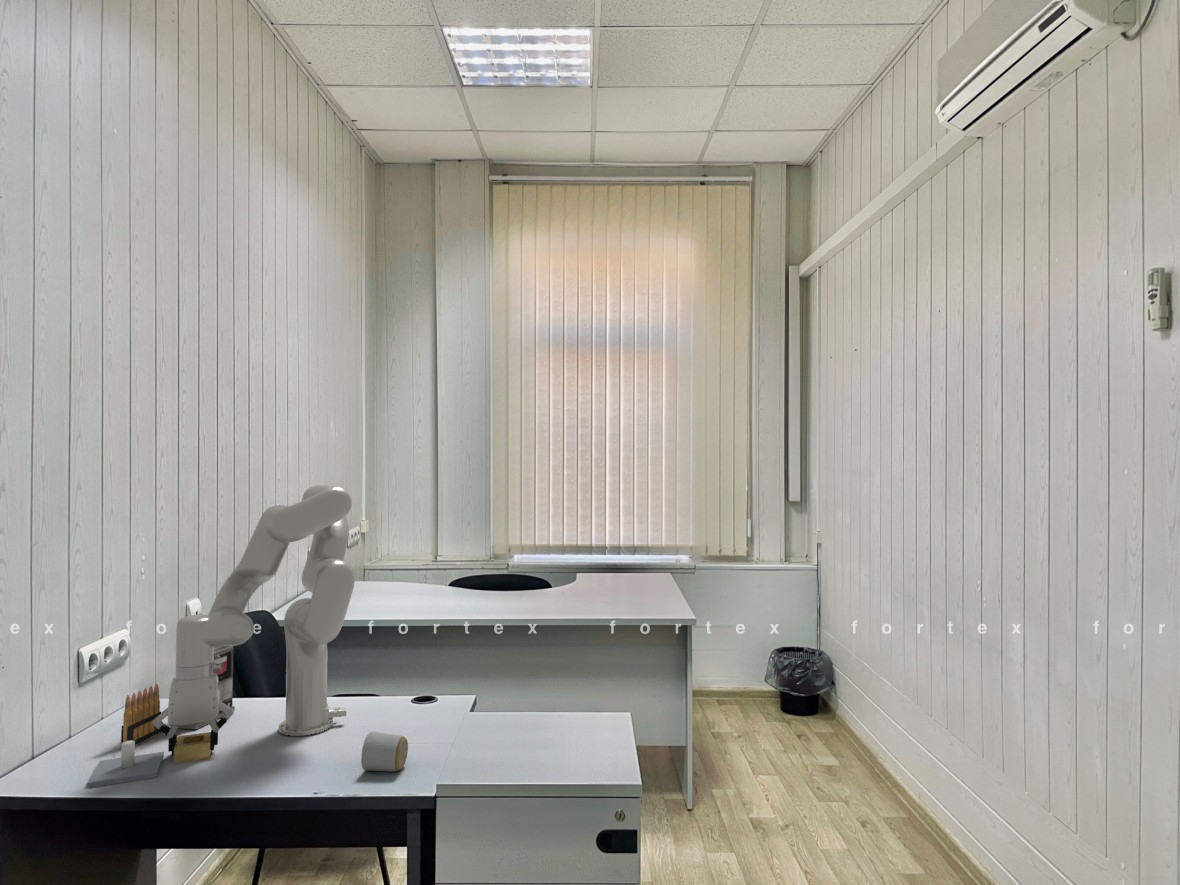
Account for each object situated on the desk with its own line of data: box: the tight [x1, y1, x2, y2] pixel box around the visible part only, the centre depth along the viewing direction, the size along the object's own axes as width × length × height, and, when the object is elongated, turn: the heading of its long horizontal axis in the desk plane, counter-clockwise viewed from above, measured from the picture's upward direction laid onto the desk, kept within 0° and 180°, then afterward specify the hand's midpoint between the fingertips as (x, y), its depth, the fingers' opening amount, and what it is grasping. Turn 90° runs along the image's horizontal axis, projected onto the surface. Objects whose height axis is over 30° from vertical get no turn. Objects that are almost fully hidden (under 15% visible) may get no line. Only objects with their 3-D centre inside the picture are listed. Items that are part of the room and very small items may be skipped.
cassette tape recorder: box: [177, 646, 236, 731], centre depth 186 cm, size 14×6×25 cm, turn 168°
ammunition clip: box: [120, 683, 162, 746], centre depth 172 cm, size 11×2×12 cm, turn 171°
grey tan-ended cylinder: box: [360, 731, 409, 772], centre depth 157 cm, size 11×8×8 cm
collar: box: [173, 731, 212, 765], centre depth 163 cm, size 7×7×4 cm
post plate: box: [87, 741, 165, 788], centre depth 154 cm, size 12×12×6 cm
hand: (193, 750), depth 163 cm, fingers closed on collar, 7 cm apart
